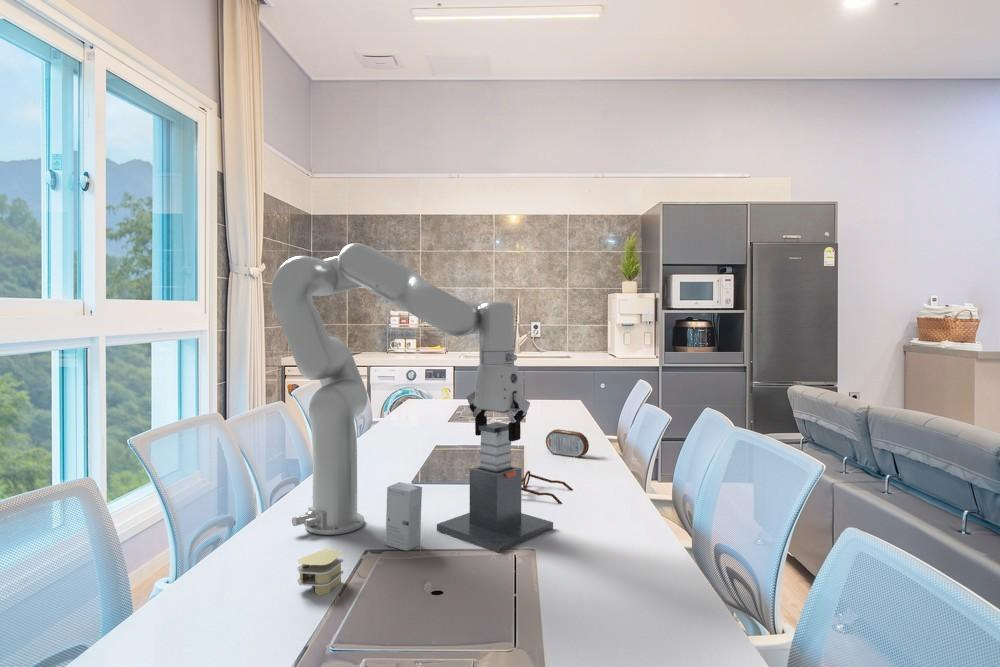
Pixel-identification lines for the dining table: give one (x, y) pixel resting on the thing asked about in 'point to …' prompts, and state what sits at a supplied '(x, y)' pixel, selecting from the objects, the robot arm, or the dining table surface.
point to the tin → (567, 443)
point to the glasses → (543, 480)
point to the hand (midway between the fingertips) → (497, 437)
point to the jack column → (495, 447)
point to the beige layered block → (321, 570)
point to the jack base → (495, 513)
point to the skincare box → (403, 516)
